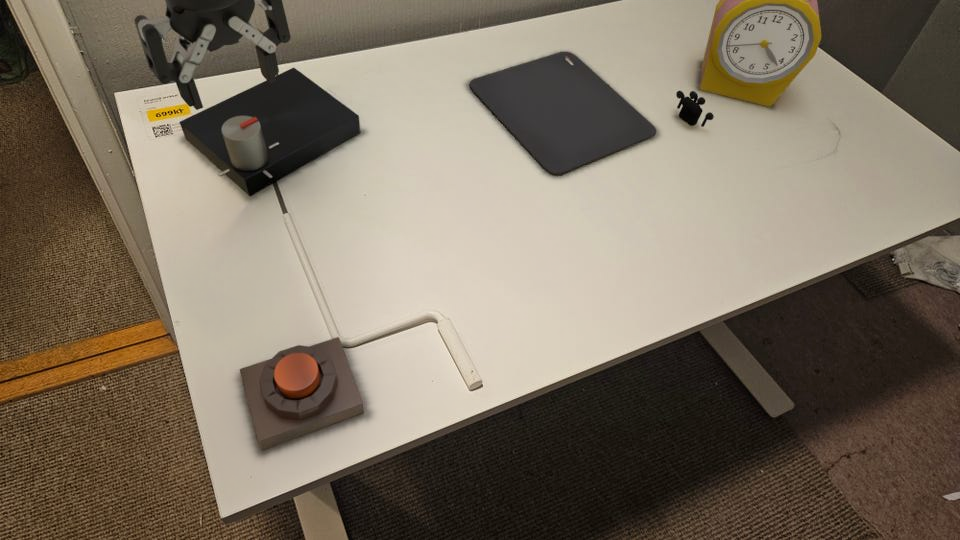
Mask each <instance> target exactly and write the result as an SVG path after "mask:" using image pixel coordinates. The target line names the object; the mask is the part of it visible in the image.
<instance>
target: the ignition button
mask: <svg viewBox="0 0 960 540" xmlns="http://www.w3.org/2000/svg"><path fill="white" fill-rule="evenodd" d="M274 378H275V381H276V384H277V386H278V389H279V391H280V392H281V393H282V394H283V395H285V396H286V397H289V398H294V399H298V398H303V397H306V396H308V395H310V394H311V393H312V392H313V391H314V390H315V389H316V388H317V386H318V384H319V382H320V373H319V369H318V365H317V362H316V361H315V359H314V358H313V357H311V356H310V355H308V354H305V353H292V354H289V355H287V356H285V357H284V358H282V359H281V360H280V361H279V362H278V364H277V365H276V368H275V371H274Z"/></svg>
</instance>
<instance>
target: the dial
mask: <svg viewBox="0 0 960 540" xmlns="http://www.w3.org/2000/svg"><path fill="white" fill-rule="evenodd" d="M221 131H222V134H223V138H224V141H225V144H226V147H227V150H228V154H229V157H230V160H231V163H232V165H233V166H234V167H235V168H236V169H238V170H241V171H255V170H258V169H260V168H262V167H263V166H264V165H265V164H266V163H267V161H268V154H267V150H266V146H265V141H264V137H263V133H262V129H261V125H260V123H259V121H258V119H257V118H256V117H250V116H236V117H233V118H230V119H229V120H227V121H226V122H225V123H224V124H223V126H222V129H221Z"/></svg>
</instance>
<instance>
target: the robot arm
mask: <svg viewBox="0 0 960 540" xmlns="http://www.w3.org/2000/svg"><path fill="white" fill-rule="evenodd" d="M164 1H165V4H166V8H165V9H166V10H165V15H162V16H158V17H154V18H148V17H147V16H145V15H143V14H139V15H136V17H135V18H134V25H135V28H136V31H137V34H138V37H139V41H140V43H141V47H142V51H143V53H144V56H145V59H146V62H147V65H148V68H149V70H150V71H151V72H152V73H153V75H154V76H155V77H156V79H157V80H158V81H159V82H160V83H161V84H163V85H167V84H169V83H171V82H175V84H176V87H177V89H178V93H179V95H180V97H181V99H182V100H183V101H184V103H185V104H186V105H187V106H189V107H190V108H191V107H193V108H194V110H196V111H198V110H200V109H201V110H202V109H203V108H204V105H203V103H202V99H201V97H200V94H199V90H198V87H197V85H196V82H195V80H194V78H193V75H194V73H195V71H196V68H197V66H200V65H201V64H202V61H203V59H204V57H205V54H206V52H207V51H209V52H210V53H211V52H215V51H218V50H219V49H221V48H222V47H224V46H233V45H236V44H239V43H240V40H241V39H242V38H243V37H245V38H246V39H247V40H248V41H250V42H251V43H253V44H254V45H255V46H254V48H255V51H256V56H257V61H258V64H259V69H260V73H261V76H262V77H263V78H264V79H265V81H266V80H267V81H268V82H269V83H272V82H274V81H276V77H275V76H277V75H279V74H280V73H279V72H280V69H279V64H278V59H277V54H276V51H277V48H278V46H279V45H280V44H282V43H283V44H287V43H289V42H290V40H291V39H292V38H291V37H292V35H291V31H290V28H289V24H288V19H287V15H286V11H285V7H284V3H283V0H164ZM256 5H258V6H259V7H260V8H261V9H262V10H263V11H264V14H265V18H266V21H267V26H268V29H266V30H264V31H262V30H261V29H260V28H258V27H257V26H256V25H254V23H252V22H251V21H250V20H251V18H252V15H253V13H254V10H255V8H256ZM171 30H173V31H174V32H175V33H176V37H175V39H174V43H173V48H174V50H173V52H172V55H171V58H170V60H169V62H168V59H167V56H166V53H165V49H164V46H163V45H165V44H166V43H167V39H168V32H169V31H171Z"/></svg>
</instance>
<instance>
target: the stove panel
mask: <svg viewBox="0 0 960 540" xmlns="http://www.w3.org/2000/svg"><path fill="white" fill-rule="evenodd" d="M275 77H276V81H274V82H272V83H269V82H268V81H267V80H266V79H265V80H264V81H262V82H260V83H258V84H256V85H254V86H252V87H250V88H247V89H245V90H243V91H241V92H238V93H237V94H235V95H233V96H231V97H229V98H227V99H225V100H222V101H220V102H218V103H216V104H214V105H212V106H210V107H208V108H206V109H203V110H201V111H199V112H197V113H195V114H192V115H191V116H189V117H187V118H184V119H182V120H180V121H179V125H180V127H181V131H182V133H183V135H184V138H185V140H186V141H187V142H188V143H189V144H190V145H191V146H192V147H194V148H195V149H196V150H197V151H198V152H199V153H200V154H202V155H203V156H204V157H205V158H206V159H207V160H208V161H209V162H210V163H211V164H213V165H214V166H215V167H216V168H217V169H218V170H219V171H220V172H219V173H218V176H219V177H223V176H226V177H227V178H228V179H229V180H230V181H231V182H233V183H234V184H235V185H236V186H237V187H238V188H240V189H241V190H242V191H243V192H244V193H245V194H246V195H247V196H249V197H252V196H254V195H256V194H257V193H258V192H260V191H262V190H264V189H266V188H267V187H269V186H271V185H273V184H274V183H276V182H278V181H280V180H282V179H283V178H284V177H286V176H288V175H290V174H291V173H293V172H295V171H297V170H299V169H300V168H302V167H304V166H305V165H307V164H309V163H310V162H312V161H314V160H316V159H317V158H319V157H321V156H322V155H324V154H326V153H328V152H329V151H331V150H333V149H335V148H336V147H339V146H340V145H341V144H343V143H345V142H347V141H348V140H351V139H352V138H353V137H356V136H357V135H359V134H360V133H361V124H360V115H359V114H357V113H356V112H355V111H353V110H352V109H350V108H349V107H348V106H347V105H345V104H344V103H342V101H340V100H339V99H337V98H336V97H334V96H333V95H331V93H329V92H328V91H326V90H325V89H324V88H322V87H321V86H319V85H318V84H317V83H315V82H314V81H313V80H311V79H310V78H309V77H307V75H305V74H303V73H302V72H301V71H300V70H298V69H297V68H296V67H291V68H290V69H288V70H285V71H283V72H282V73H278V75H276V76H275ZM236 116H250V117H256V118H257V119H258V121H259V123H260V125H261V129H262V133H263V137H264V141H265V146H266V150H267V154H268V161H267V163H266V164H265V165H264V166H263V167H262V168H260V169H258V170H255V171H241V170H238V169H236V168H235V167H234V166H233V165H232V163H231V160H230V157H229V154H228V150H227V147H226V144H225V141H224V138H223V134H222V131H221V129H222V126H223V124H224V123H225V122H226V121H227V120H229V119H230V118H233V117H236Z"/></svg>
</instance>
